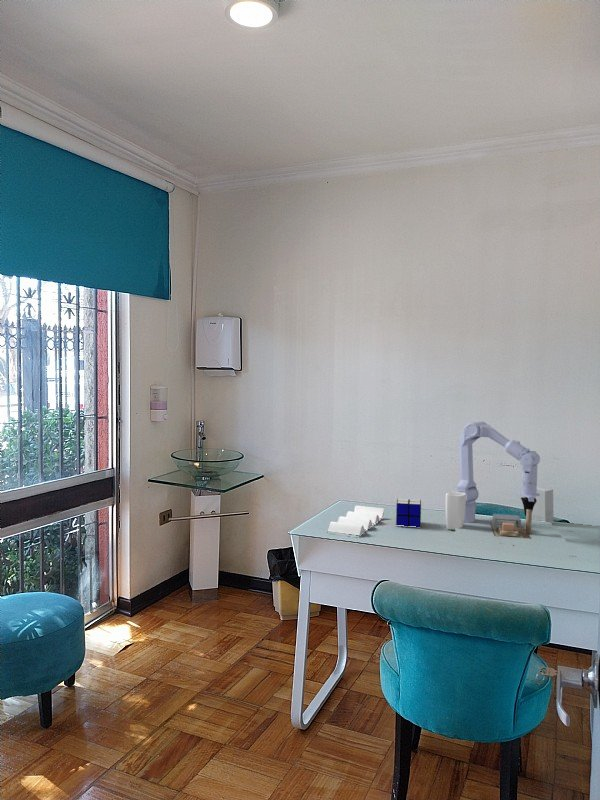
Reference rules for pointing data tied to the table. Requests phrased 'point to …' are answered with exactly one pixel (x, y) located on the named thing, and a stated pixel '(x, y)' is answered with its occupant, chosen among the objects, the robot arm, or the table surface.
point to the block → (507, 526)
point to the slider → (516, 531)
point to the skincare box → (543, 506)
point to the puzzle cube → (408, 512)
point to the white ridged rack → (357, 520)
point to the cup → (455, 509)
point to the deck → (520, 535)
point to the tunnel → (506, 518)
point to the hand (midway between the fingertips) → (528, 516)
